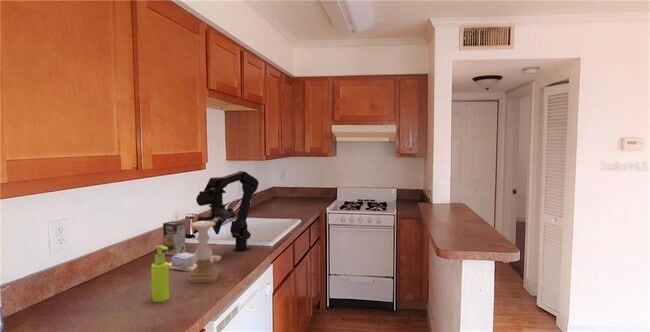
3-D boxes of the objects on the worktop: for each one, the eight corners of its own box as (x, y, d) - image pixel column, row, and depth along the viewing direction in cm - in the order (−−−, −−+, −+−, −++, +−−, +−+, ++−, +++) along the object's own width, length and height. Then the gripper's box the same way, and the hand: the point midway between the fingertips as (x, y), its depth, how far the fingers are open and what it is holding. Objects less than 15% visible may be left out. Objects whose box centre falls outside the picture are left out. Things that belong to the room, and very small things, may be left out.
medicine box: (197, 253, 178) (185, 258, 169) (198, 262, 178) (185, 268, 170) (184, 251, 180) (170, 256, 172) (184, 260, 181) (171, 266, 172)
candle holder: (193, 274, 167) (192, 220, 165) (219, 273, 168) (218, 220, 166) (187, 283, 156) (186, 226, 154) (214, 282, 157) (213, 225, 155)
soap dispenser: (160, 304, 136) (159, 249, 135) (148, 299, 140) (147, 246, 139) (174, 298, 141) (173, 245, 140) (163, 294, 145) (161, 242, 144)
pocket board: (194, 255, 194) (194, 252, 194) (221, 258, 188) (221, 255, 188) (166, 267, 175) (165, 264, 175) (194, 271, 170) (194, 268, 170)
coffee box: (163, 254, 196) (162, 223, 195) (172, 250, 202) (171, 220, 201) (176, 256, 192) (176, 224, 191) (186, 252, 198) (185, 222, 197)
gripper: (211, 207, 176) (212, 240, 177) (242, 202, 191) (242, 232, 192) (196, 204, 183) (197, 236, 184) (227, 200, 198) (227, 229, 199)
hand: (217, 234), depth 190 cm, fingers closed
